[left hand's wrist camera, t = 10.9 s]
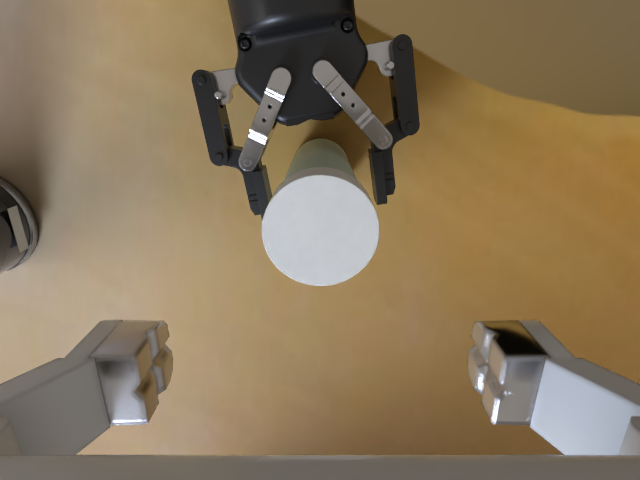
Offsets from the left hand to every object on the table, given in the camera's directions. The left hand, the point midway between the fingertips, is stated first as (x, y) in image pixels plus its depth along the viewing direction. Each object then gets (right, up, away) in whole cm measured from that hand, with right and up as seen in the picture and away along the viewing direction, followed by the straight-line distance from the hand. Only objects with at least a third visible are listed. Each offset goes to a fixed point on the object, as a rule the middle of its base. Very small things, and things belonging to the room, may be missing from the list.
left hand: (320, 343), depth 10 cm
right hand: (0, +5, +19) cm, 19 cm away
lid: (0, +3, +8) cm, 9 cm away
